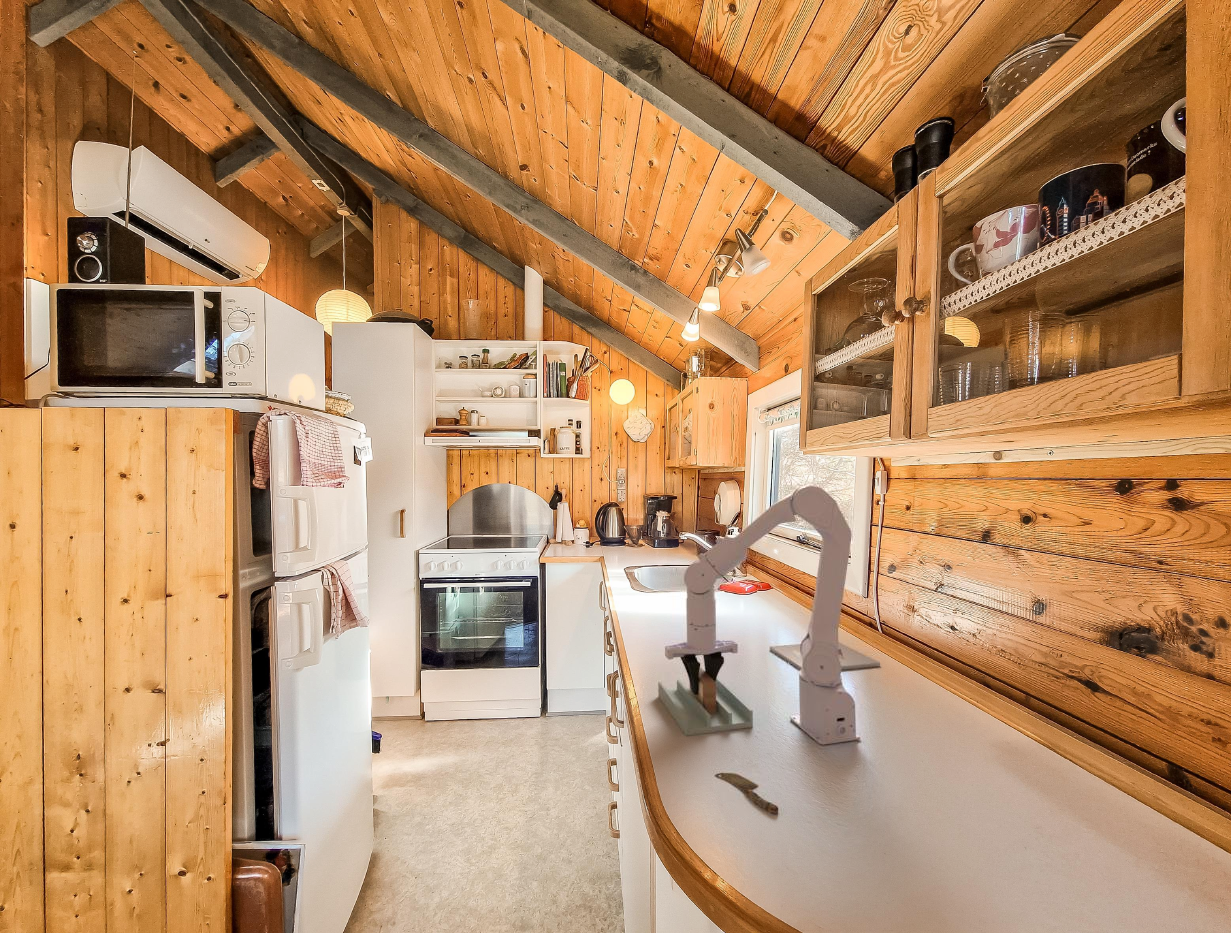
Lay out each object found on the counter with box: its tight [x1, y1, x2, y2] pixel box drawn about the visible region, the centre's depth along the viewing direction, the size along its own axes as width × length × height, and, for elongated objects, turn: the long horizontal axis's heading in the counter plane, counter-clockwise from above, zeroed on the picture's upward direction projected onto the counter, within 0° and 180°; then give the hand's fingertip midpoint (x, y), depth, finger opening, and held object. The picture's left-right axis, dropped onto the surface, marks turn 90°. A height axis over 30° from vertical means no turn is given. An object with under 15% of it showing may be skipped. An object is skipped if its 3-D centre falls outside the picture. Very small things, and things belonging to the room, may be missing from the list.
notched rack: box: [657, 676, 754, 737], centre depth 95 cm, size 16×13×3 cm
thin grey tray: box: [769, 642, 881, 672], centre depth 122 cm, size 16×2×20 cm
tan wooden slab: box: [689, 666, 716, 715], centre depth 95 cm, size 8×2×6 cm, turn 12°
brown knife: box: [714, 772, 779, 815], centre depth 70 cm, size 12×1×5 cm
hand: (702, 691), depth 95 cm, fingers closed on tan wooden slab, 2 cm apart
